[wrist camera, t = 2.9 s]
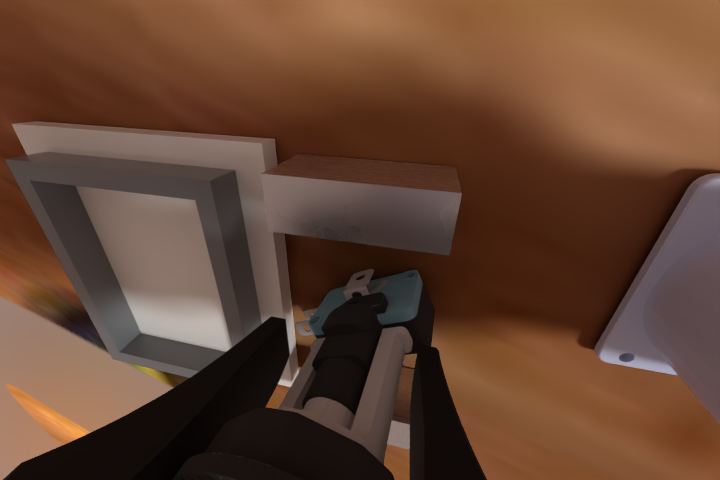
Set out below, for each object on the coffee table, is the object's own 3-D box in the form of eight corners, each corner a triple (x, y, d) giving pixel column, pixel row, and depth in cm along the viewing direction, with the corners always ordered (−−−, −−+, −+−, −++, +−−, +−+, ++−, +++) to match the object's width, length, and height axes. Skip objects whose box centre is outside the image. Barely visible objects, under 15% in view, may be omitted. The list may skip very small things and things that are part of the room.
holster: (455, 166, 11) (462, 193, 8) (413, 393, 17) (409, 449, 14) (299, 153, 12) (260, 173, 9) (314, 371, 18) (293, 419, 15)
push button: (332, 346, 16) (194, 630, 8) (286, 266, 15) (45, 512, 6) (452, 330, 13) (445, 749, 5) (411, 229, 12) (292, 588, 3)
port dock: (274, 138, 12) (238, 151, 9) (299, 373, 18) (280, 412, 16) (37, 121, 14) (-36, 128, 12) (137, 337, 20) (102, 366, 18)
